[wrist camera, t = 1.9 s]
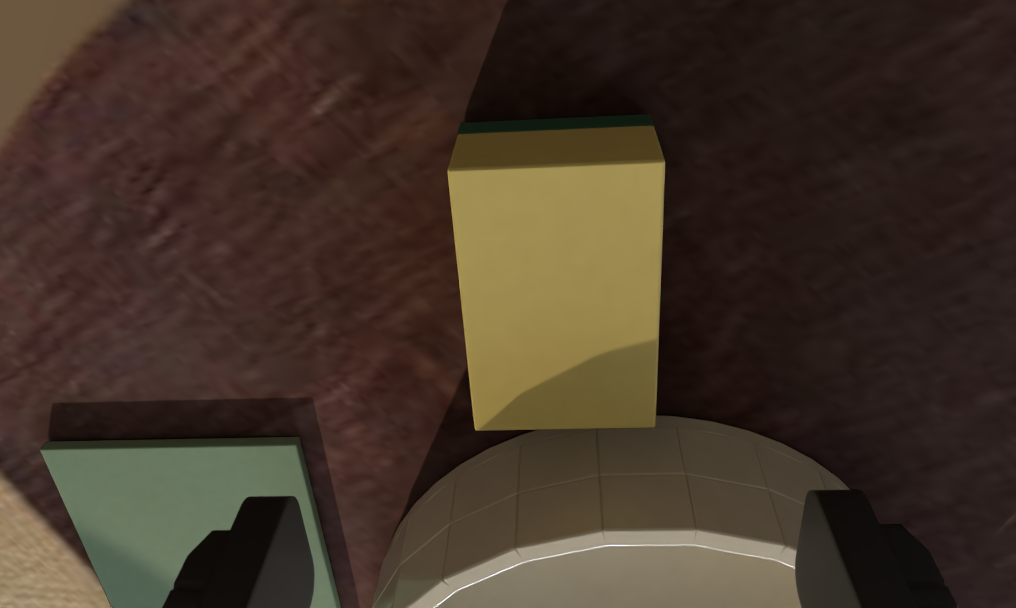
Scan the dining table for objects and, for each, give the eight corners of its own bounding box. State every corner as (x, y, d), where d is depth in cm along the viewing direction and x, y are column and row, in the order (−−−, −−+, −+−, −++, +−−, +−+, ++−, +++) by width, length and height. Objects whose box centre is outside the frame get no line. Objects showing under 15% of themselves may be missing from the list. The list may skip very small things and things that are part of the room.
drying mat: (45, 440, 26) (38, 449, 25) (299, 435, 25) (296, 444, 25) (139, 650, 31) (134, 659, 30) (352, 650, 30) (349, 659, 30)
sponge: (460, 122, 20) (446, 168, 17) (650, 113, 19) (666, 159, 17) (483, 363, 23) (474, 431, 21) (644, 359, 23) (656, 428, 20)
